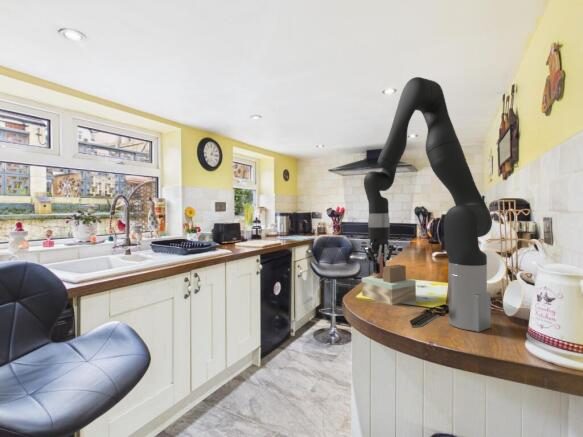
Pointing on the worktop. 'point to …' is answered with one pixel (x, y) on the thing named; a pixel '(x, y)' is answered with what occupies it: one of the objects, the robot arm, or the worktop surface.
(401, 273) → the lid
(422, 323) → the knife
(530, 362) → the worktop surface
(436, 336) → the worktop surface
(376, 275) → the rounded rod
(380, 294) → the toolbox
